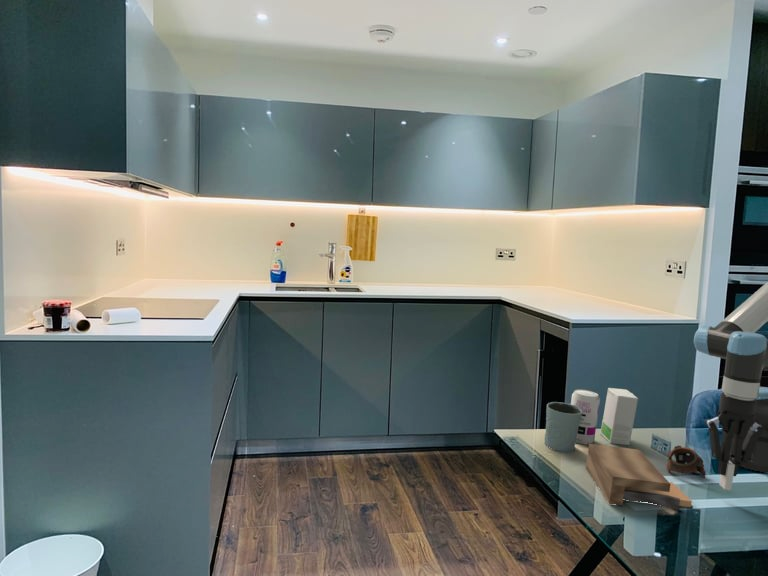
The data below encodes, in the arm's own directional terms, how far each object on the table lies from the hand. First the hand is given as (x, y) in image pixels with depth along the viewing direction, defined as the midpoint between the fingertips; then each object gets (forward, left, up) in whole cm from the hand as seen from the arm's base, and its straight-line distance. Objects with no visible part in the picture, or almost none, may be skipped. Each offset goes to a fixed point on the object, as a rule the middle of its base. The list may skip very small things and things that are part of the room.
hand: (725, 487), depth 135 cm
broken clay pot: (+3, -16, -4) cm, 16 cm away
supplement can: (+27, -32, -4) cm, 42 cm away
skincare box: (+15, -36, -4) cm, 39 cm away
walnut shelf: (+23, 0, -4) cm, 23 cm away
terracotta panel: (+18, +1, -4) cm, 19 cm away
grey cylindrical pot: (+35, -24, -4) cm, 42 cm away
